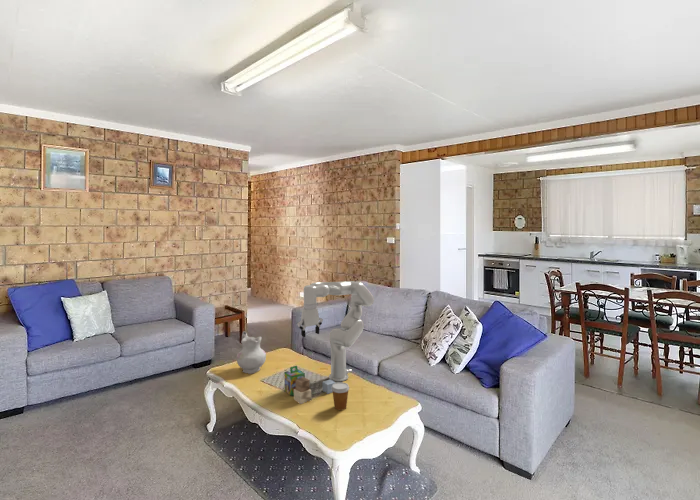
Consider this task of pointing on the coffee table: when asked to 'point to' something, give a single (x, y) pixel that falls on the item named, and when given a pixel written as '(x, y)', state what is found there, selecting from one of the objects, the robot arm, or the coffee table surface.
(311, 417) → the coffee table surface
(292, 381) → the chalk box
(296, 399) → the maple block
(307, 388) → the walnut block
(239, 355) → the ceramic pitcher
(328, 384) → the slate-blue block
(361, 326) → the robot arm
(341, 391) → the disposable coffee cup
